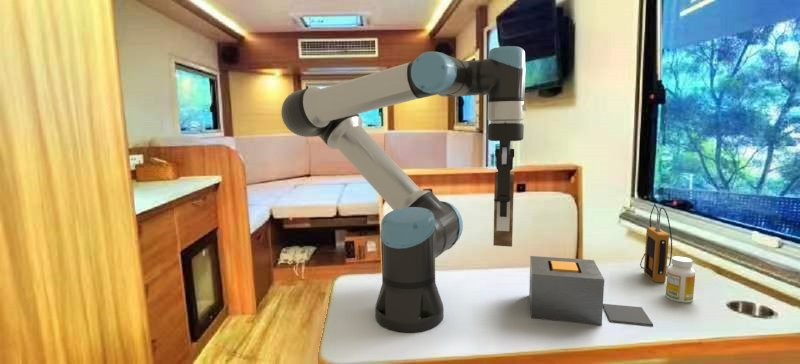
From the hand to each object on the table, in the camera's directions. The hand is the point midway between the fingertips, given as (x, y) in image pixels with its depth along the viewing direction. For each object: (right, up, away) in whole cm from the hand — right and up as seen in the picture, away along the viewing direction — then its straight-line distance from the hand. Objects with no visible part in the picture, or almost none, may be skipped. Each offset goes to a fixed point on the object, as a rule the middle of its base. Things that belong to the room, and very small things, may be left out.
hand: (503, 227), depth 92 cm
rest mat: (+26, -19, -2) cm, 32 cm away
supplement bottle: (+43, -18, +5) cm, 47 cm away
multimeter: (+48, -16, +17) cm, 54 cm away
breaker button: (+14, -15, +1) cm, 20 cm away
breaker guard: (+14, -19, +1) cm, 23 cm away
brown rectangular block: (0, -4, +1) cm, 4 cm away
